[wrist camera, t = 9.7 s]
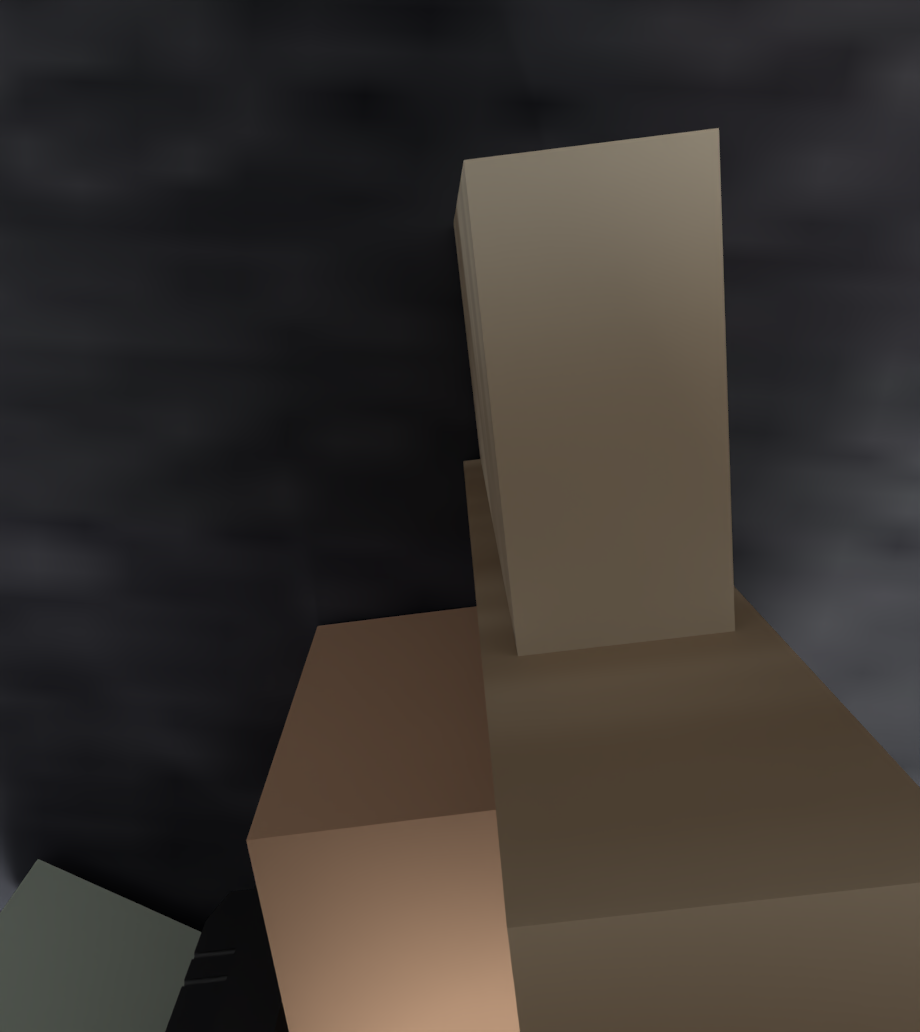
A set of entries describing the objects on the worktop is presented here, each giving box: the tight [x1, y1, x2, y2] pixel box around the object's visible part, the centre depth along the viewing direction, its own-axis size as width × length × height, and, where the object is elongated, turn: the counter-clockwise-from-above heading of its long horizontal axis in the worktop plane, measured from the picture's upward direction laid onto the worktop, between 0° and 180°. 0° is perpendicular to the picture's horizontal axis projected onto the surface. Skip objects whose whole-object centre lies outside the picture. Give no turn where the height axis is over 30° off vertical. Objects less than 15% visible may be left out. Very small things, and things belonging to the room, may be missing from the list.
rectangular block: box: [246, 606, 520, 1032], centre depth 11 cm, size 7×4×5 cm, turn 7°
